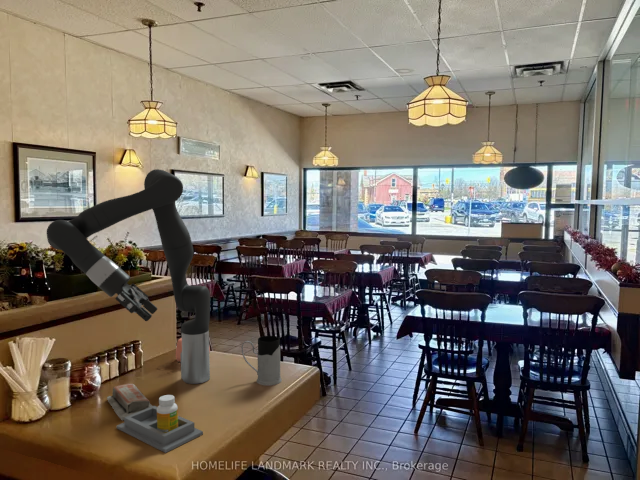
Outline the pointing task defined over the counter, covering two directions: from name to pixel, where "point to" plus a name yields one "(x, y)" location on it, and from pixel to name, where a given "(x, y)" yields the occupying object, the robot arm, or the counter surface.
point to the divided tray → (146, 430)
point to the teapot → (179, 350)
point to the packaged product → (127, 400)
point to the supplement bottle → (167, 414)
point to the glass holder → (267, 360)
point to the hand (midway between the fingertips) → (152, 315)
